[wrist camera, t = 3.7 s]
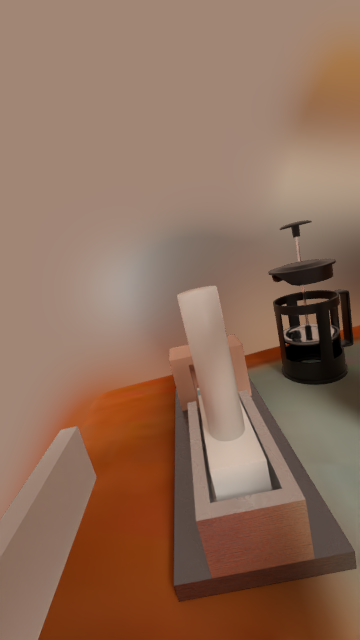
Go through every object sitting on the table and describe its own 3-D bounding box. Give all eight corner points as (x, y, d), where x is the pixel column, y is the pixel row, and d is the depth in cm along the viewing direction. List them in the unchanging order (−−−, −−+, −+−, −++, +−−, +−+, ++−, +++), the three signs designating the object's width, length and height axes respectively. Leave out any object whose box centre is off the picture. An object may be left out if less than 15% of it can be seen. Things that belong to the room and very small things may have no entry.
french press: (295, 391, 37) (271, 227, 32) (269, 366, 46) (247, 234, 41) (374, 372, 37) (363, 204, 32) (332, 350, 47) (319, 217, 41)
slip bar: (237, 411, 31) (210, 277, 27) (275, 505, 19) (235, 291, 15) (203, 418, 31) (171, 286, 27) (220, 516, 19) (167, 307, 15)
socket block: (243, 379, 41) (234, 333, 39) (252, 395, 36) (242, 344, 35) (181, 393, 42) (170, 348, 40) (182, 410, 37) (169, 361, 35)
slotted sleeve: (247, 380, 43) (240, 345, 42) (356, 568, 17) (348, 490, 16) (177, 396, 44) (168, 361, 42) (178, 601, 18) (155, 529, 16)
